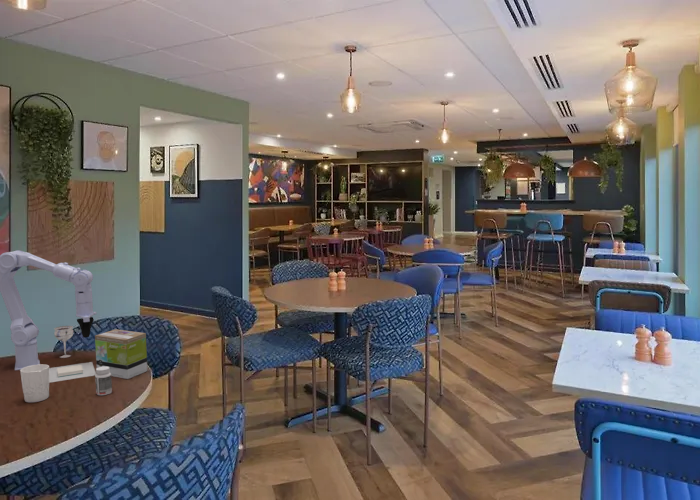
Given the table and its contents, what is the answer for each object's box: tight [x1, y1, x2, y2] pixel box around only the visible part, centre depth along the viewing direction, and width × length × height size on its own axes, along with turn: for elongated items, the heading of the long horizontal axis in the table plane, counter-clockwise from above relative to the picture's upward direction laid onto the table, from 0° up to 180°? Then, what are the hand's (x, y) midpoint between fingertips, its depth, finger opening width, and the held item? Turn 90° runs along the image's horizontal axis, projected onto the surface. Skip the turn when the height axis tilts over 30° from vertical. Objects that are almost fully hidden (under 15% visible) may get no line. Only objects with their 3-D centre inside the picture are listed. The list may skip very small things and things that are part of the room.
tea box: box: [94, 328, 148, 380], centre depth 193 cm, size 15×10×15 cm, turn 68°
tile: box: [57, 365, 83, 377], centre depth 193 cm, size 1×8×7 cm
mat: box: [49, 361, 96, 384], centre depth 194 cm, size 18×16×1 cm
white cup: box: [19, 363, 50, 403], centre depth 169 cm, size 8×8×10 cm
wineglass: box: [53, 325, 74, 359], centre depth 213 cm, size 7×7×12 cm
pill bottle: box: [94, 366, 113, 396], centre depth 173 cm, size 5×5×8 cm
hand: (86, 336), depth 204 cm, fingers closed
